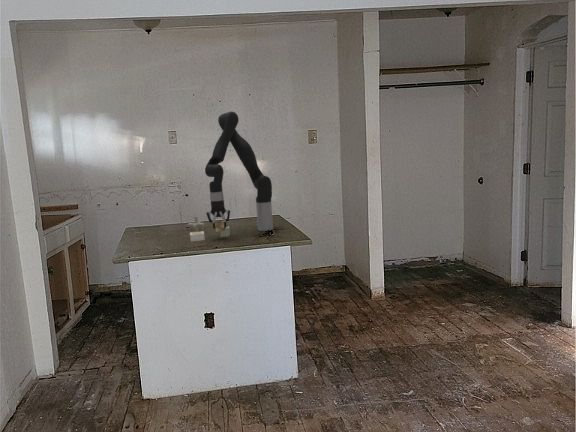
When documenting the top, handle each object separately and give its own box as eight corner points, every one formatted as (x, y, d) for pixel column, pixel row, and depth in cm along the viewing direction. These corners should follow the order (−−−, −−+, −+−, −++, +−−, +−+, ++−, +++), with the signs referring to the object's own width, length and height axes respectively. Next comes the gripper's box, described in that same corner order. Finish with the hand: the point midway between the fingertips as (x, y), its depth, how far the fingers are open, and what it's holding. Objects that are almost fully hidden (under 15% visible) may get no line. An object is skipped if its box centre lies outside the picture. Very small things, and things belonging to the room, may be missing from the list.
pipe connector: (202, 234, 312) (200, 218, 311) (186, 234, 314) (185, 218, 313) (207, 230, 322) (206, 215, 320) (192, 230, 324) (191, 215, 322)
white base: (204, 237, 303) (203, 230, 303) (204, 240, 296) (204, 233, 295) (190, 239, 302) (189, 232, 301) (190, 241, 294) (190, 234, 293)
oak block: (224, 229, 298) (223, 220, 297) (224, 230, 293) (223, 222, 292) (216, 229, 298) (215, 221, 297) (215, 231, 293) (214, 223, 292)
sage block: (229, 234, 307) (229, 226, 306) (229, 236, 302) (229, 228, 302) (221, 235, 307) (220, 226, 306) (221, 236, 302) (220, 228, 301)
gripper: (229, 197, 297) (232, 226, 300) (204, 199, 295) (207, 228, 298) (229, 199, 289) (232, 229, 292) (203, 201, 288) (207, 231, 291)
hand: (220, 228), depth 295 cm, fingers closed on oak block, 5 cm apart
